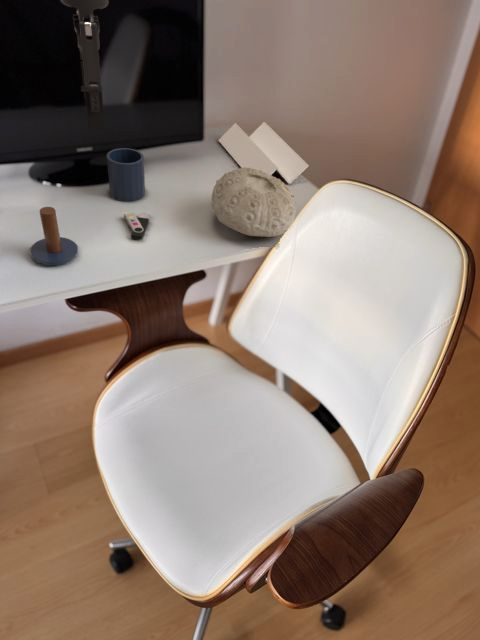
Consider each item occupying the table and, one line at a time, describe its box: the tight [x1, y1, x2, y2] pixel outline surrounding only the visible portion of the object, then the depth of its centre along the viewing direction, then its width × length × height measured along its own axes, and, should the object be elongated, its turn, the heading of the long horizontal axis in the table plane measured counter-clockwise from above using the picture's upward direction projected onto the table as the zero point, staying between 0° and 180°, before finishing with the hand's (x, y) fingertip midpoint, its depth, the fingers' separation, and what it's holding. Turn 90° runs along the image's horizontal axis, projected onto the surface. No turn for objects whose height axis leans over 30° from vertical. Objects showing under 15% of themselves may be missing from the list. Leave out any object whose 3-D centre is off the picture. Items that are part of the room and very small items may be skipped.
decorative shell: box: [210, 167, 297, 238], centre depth 112 cm, size 18×18×10 cm
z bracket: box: [218, 121, 309, 185], centre depth 136 cm, size 12×25×6 cm
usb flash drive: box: [123, 212, 151, 240], centre depth 109 cm, size 9×5×1 cm, turn 177°
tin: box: [106, 147, 146, 203], centre depth 116 cm, size 7×7×8 cm
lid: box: [29, 206, 79, 266], centre depth 97 cm, size 8×8×9 cm
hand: (94, 113), depth 100 cm, fingers open, 13 cm apart
